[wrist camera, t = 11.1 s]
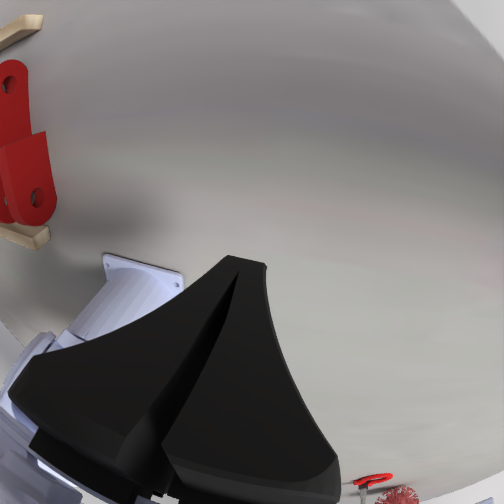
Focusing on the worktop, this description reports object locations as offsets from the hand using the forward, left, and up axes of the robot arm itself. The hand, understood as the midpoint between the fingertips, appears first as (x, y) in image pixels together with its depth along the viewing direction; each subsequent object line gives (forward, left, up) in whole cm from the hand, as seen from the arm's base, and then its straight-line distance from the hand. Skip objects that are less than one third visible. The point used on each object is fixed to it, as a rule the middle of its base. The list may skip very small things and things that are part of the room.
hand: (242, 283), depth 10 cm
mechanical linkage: (+2, +24, -10) cm, 26 cm away
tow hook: (-62, -38, -10) cm, 73 cm away
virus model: (-78, -55, -10) cm, 96 cm away
